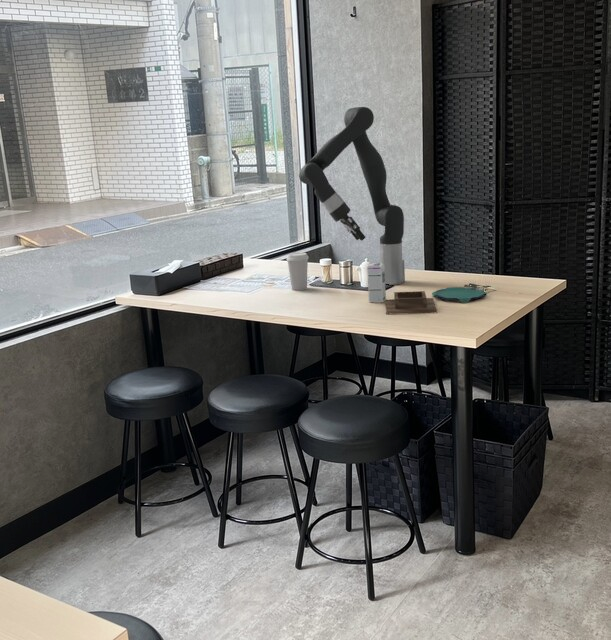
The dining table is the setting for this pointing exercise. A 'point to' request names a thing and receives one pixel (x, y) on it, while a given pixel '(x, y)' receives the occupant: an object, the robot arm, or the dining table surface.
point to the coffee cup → (298, 270)
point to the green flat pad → (460, 293)
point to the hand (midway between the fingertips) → (361, 239)
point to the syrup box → (376, 282)
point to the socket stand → (410, 303)
